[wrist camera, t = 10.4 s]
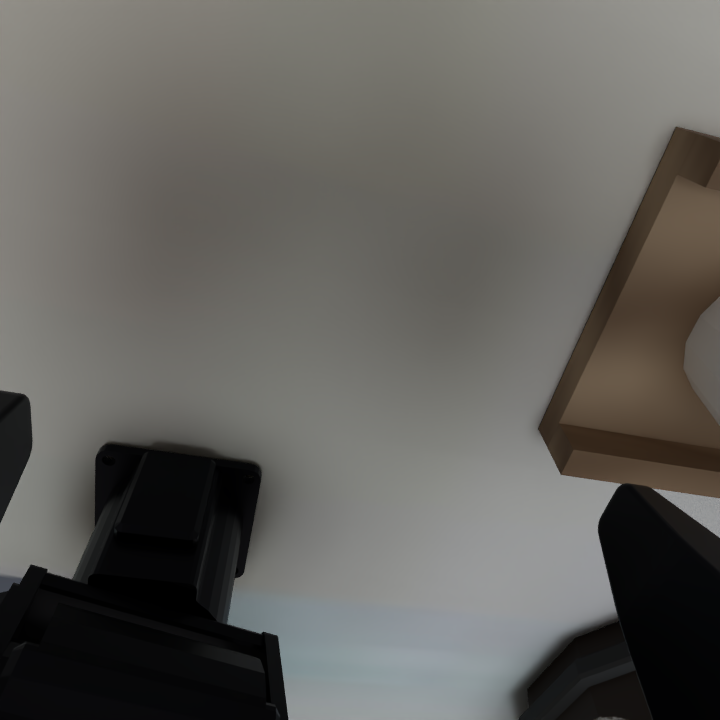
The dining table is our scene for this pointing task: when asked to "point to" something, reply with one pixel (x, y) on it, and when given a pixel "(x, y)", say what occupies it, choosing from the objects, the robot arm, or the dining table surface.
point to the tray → (648, 341)
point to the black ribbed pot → (589, 682)
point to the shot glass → (705, 359)
